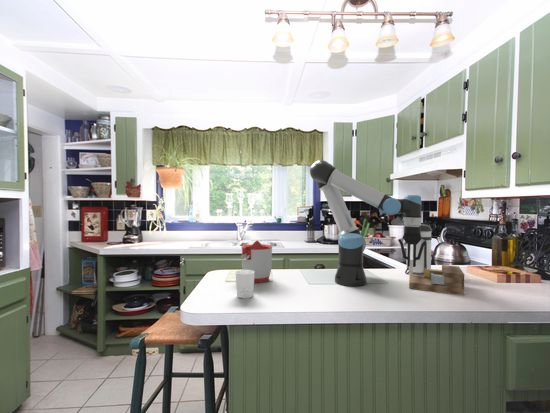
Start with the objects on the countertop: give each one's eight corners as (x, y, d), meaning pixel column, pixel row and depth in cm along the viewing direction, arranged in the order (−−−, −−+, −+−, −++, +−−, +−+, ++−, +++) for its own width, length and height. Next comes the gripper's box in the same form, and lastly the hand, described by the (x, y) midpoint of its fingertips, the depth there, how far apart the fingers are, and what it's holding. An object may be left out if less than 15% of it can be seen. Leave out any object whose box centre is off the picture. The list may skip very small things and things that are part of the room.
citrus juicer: (232, 281, 138) (232, 240, 138) (256, 274, 151) (256, 237, 151) (254, 287, 128) (254, 244, 128) (278, 279, 141) (278, 240, 141)
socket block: (409, 288, 127) (409, 268, 127) (409, 279, 142) (409, 262, 142) (464, 295, 118) (464, 274, 118) (458, 284, 133) (458, 266, 133)
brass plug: (423, 277, 135) (423, 269, 135) (423, 275, 139) (423, 267, 139) (450, 280, 130) (450, 271, 130) (449, 277, 134) (449, 270, 134)
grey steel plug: (431, 283, 124) (431, 275, 124) (430, 281, 128) (430, 273, 128) (460, 287, 119) (460, 278, 119) (459, 284, 123) (459, 275, 123)
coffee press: (441, 277, 147) (442, 220, 147) (411, 277, 147) (411, 220, 147) (424, 269, 164) (425, 218, 164) (397, 269, 164) (397, 218, 164)
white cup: (239, 300, 111) (239, 275, 111) (232, 294, 118) (233, 270, 118) (257, 297, 115) (257, 272, 115) (250, 291, 122) (250, 268, 122)
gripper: (397, 225, 139) (396, 273, 139) (427, 227, 133) (426, 276, 133) (398, 224, 145) (397, 269, 146) (426, 226, 139) (425, 273, 140)
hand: (411, 273), depth 139 cm, fingers closed
